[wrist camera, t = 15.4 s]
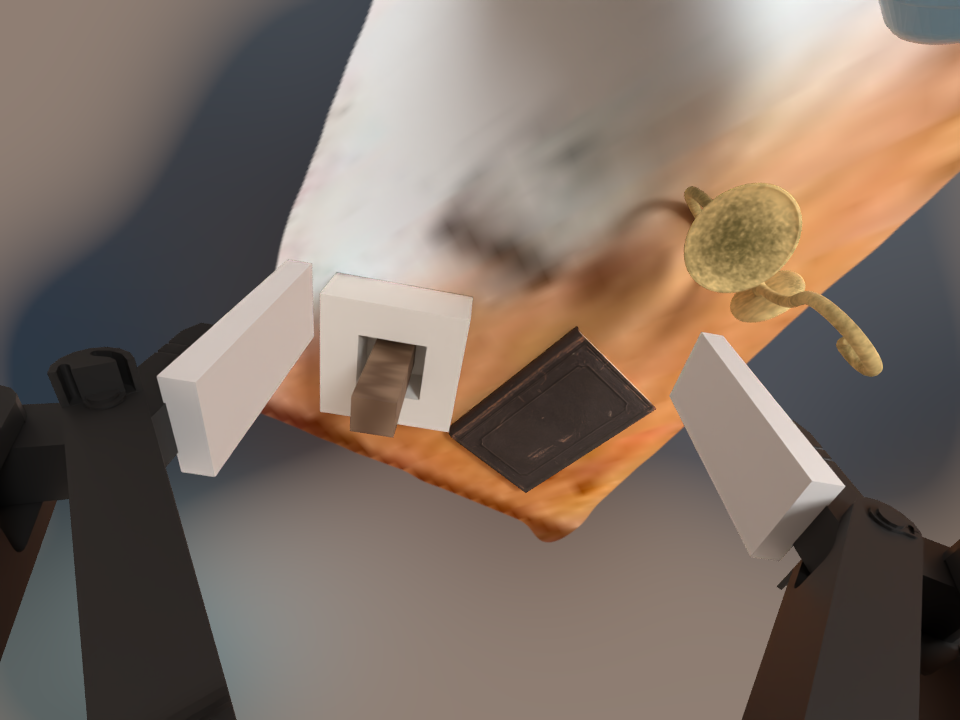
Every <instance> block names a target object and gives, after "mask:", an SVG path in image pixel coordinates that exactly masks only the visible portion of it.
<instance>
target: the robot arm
mask: <svg viewBox="0 0 960 720" xmlns="http://www.w3.org/2000/svg"><path fill="white" fill-rule="evenodd" d="M879 4H880V8H881V12H882V16H883V19H884V22H885V24H886V26H887V27H888V28H889V29H890V30H891V31H892V32H893V34H894V35H896V36H898V37H899V38H900V39H903V40H906V41H909V42H913V43H918V44H928V45H943V44H955V43H960V0H879ZM313 337H314V314H313V281H312V263H306V262H301V261H295V260H289V259H288V260H287V261H286V262H284V263H283V264H282V265H281V266H280V267H279V268H278V269H277V270H275V271H274V272H273V273H272V274H271V275H270V276H269V277H268V278H266V279H265V280H264V281H263V282H262V283H261V284H260V285H259V286H258V287H256V288H255V289H254V290H253V291H252V292H251V293H250V294H249V295H247V296H246V297H245V298H244V299H243V300H242V301H241V302H239V303H238V304H237V305H236V306H235V307H234V308H233V309H232V310H231V311H229V312H228V313H227V314H226V315H225V316H224V317H223V318H221V319H220V320H219V321H218V322H217V323H216V324H215V325H211V324H204V323H200V324H198V325H195V326H192V327H190V328H188V329H185V330H183V331H181V332H180V333H179V334H177V335H176V336H175V337H174V338H172V339H171V340H170V341H169V344H165V345H164V346H163V347H162V348H160V349H159V350H158V353H154V354H153V355H152V356H150V357H149V358H148V359H147V360H146V361H144V362H143V363H142V364H141V365H140V366H138V367H137V366H136V362H135V359H134V357H133V356H132V355H131V353H130V352H127V351H125V350H122V349H120V348H110V347H101V348H89V349H85V350H82V351H77V352H73V353H71V354H69V355H67V356H64V357H62V358H60V359H58V360H57V361H56V362H55V363H53V364H52V365H51V366H50V368H49V371H48V376H49V379H50V381H51V384H52V386H53V388H54V391H55V393H56V395H57V398H58V400H59V403H48V404H30V405H29V404H27V405H22V404H21V402H20V400H19V398H18V396H17V394H16V393H15V392H14V391H13V390H12V389H11V388H9V387H5V386H1V385H0V661H1V658H2V655H3V652H4V649H5V647H6V644H7V641H8V638H9V635H10V632H11V629H12V627H13V623H14V621H15V618H16V615H17V612H18V610H19V607H20V604H21V601H22V598H23V595H24V592H25V589H26V586H27V584H28V581H29V578H30V575H31V573H32V570H33V567H34V564H35V561H36V558H37V555H38V553H39V550H40V547H41V544H42V541H43V538H44V536H45V533H46V530H47V527H48V524H49V521H50V518H51V516H52V513H53V510H54V507H55V504H56V501H57V500H63V499H69V503H70V515H71V527H72V540H73V552H74V564H75V576H76V588H77V601H78V612H79V625H80V637H81V649H82V662H83V674H84V684H85V685H84V686H85V698H86V710H87V720H237V719H236V716H235V712H234V709H233V705H232V702H231V698H230V695H229V691H228V687H227V684H226V680H225V677H224V673H223V670H222V666H221V663H220V659H219V656H218V652H217V648H216V645H215V642H214V638H213V634H212V631H211V628H210V624H209V620H208V616H207V613H206V610H205V606H204V602H203V599H202V595H201V592H200V588H199V585H198V581H197V577H196V574H195V570H194V567H193V563H192V560H191V556H190V553H189V549H188V546H187V542H186V538H185V535H184V531H183V527H182V524H181V520H180V517H179V513H178V510H177V506H176V503H175V499H174V495H173V492H172V488H171V485H170V481H169V478H168V474H167V471H166V466H167V465H168V464H169V463H170V462H171V460H172V459H173V458H174V457H175V456H176V454H177V456H178V460H179V464H180V468H181V471H182V472H186V473H193V474H199V475H206V476H213V477H215V476H216V475H217V473H218V472H219V470H220V469H221V468H222V466H223V465H224V463H225V462H226V460H227V459H228V458H229V456H230V455H231V453H232V452H233V451H234V449H235V448H236V446H237V445H238V444H239V442H240V441H241V439H242V438H243V436H244V435H245V433H246V432H247V431H248V429H249V428H250V427H251V425H252V424H253V422H254V421H255V419H256V418H257V417H258V415H259V414H260V412H261V411H262V410H263V408H264V407H265V405H266V404H267V402H268V401H269V400H270V398H271V397H272V395H273V394H274V393H275V391H276V390H277V388H278V387H279V385H280V384H281V383H282V381H283V380H284V378H285V377H286V376H287V374H288V373H289V371H290V370H291V368H292V367H293V366H294V364H295V363H296V361H297V360H298V359H299V357H300V356H301V354H302V353H303V351H304V350H305V349H306V347H307V346H308V344H309V343H310V342H311V340H312V339H313ZM670 398H671V400H672V402H673V404H674V406H675V408H676V410H677V412H678V414H679V416H680V418H681V420H682V422H683V424H684V426H685V428H686V430H687V432H688V434H689V435H690V438H691V440H692V442H693V443H694V446H695V448H696V449H697V452H698V454H699V456H700V458H701V460H702V462H703V464H704V466H705V467H706V470H707V471H708V473H709V475H710V478H711V480H712V481H713V483H714V485H715V487H716V489H717V491H718V493H719V495H720V497H721V499H722V501H723V503H724V505H725V507H726V509H727V511H728V513H729V515H730V517H731V519H732V521H733V523H734V525H735V527H736V529H737V531H738V533H739V535H740V537H741V539H742V541H743V543H744V545H745V547H746V549H747V551H748V553H749V555H750V557H755V558H761V559H768V560H776V561H780V560H781V559H782V558H783V557H784V556H785V554H786V553H787V552H788V551H789V550H790V549H791V548H792V547H793V546H794V547H795V549H796V551H797V552H798V554H799V556H800V557H801V559H802V560H801V561H800V562H799V563H798V564H797V565H796V566H795V567H794V568H793V569H792V570H791V571H790V573H789V574H788V575H787V576H786V577H785V578H784V579H783V580H782V581H781V582H780V584H779V585H778V586H777V587H778V588H780V589H781V590H782V589H783V588H784V587H785V586H787V588H786V591H785V594H784V597H783V600H782V603H781V606H780V609H779V612H778V615H777V618H776V620H775V623H774V626H773V629H772V632H771V635H770V638H769V641H768V644H767V647H766V650H765V653H764V656H763V659H762V662H761V665H760V668H759V671H758V674H757V677H756V680H755V682H754V686H753V688H752V691H751V694H750V697H749V700H748V703H747V706H746V709H745V712H744V715H743V718H742V720H960V540H958V541H957V542H956V543H955V544H954V545H953V546H951V547H947V546H945V545H942V544H940V543H937V542H934V541H932V540H929V539H926V538H924V537H922V534H921V532H920V531H919V530H918V529H917V527H916V526H915V525H914V523H913V522H911V521H910V520H909V519H908V518H907V517H906V516H904V515H903V514H902V513H901V512H899V511H897V510H896V509H894V508H893V507H891V506H889V505H887V504H885V503H883V502H880V501H878V500H875V499H871V498H867V497H863V496H862V494H861V493H860V492H859V491H858V489H857V488H856V487H855V486H854V485H853V484H852V482H851V481H850V480H849V479H848V478H847V476H846V475H845V474H844V473H843V472H842V471H841V469H840V468H839V467H838V466H837V464H836V463H835V462H833V461H831V457H830V456H829V455H828V454H827V452H826V451H825V450H822V447H821V445H820V444H819V443H818V442H817V441H816V439H815V438H814V437H813V436H812V435H811V433H809V432H808V431H807V430H805V429H804V428H803V427H802V426H800V425H799V424H798V423H796V422H795V421H794V420H791V419H790V418H789V416H788V415H787V414H786V413H785V412H784V410H783V409H782V408H781V407H780V405H779V404H778V403H777V402H776V400H775V399H774V398H773V397H772V396H771V394H770V393H769V392H768V391H767V389H766V388H765V387H764V386H763V385H762V383H761V382H760V381H759V380H758V378H757V377H756V376H755V375H754V374H753V372H752V371H751V370H750V369H749V367H748V366H747V365H746V364H745V362H744V361H743V360H742V359H741V357H740V356H739V355H738V354H737V353H736V351H735V350H734V349H733V348H732V346H731V345H730V344H729V343H728V342H727V340H726V339H725V338H724V337H723V336H721V335H715V334H710V333H704V332H701V334H700V336H699V338H698V340H697V342H696V344H695V346H694V348H693V350H692V352H691V354H690V356H689V358H688V360H687V362H686V364H685V366H684V368H683V370H682V372H681V374H680V376H679V378H678V380H677V382H676V384H675V386H674V388H673V390H672V392H671V394H670Z"/></svg>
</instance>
